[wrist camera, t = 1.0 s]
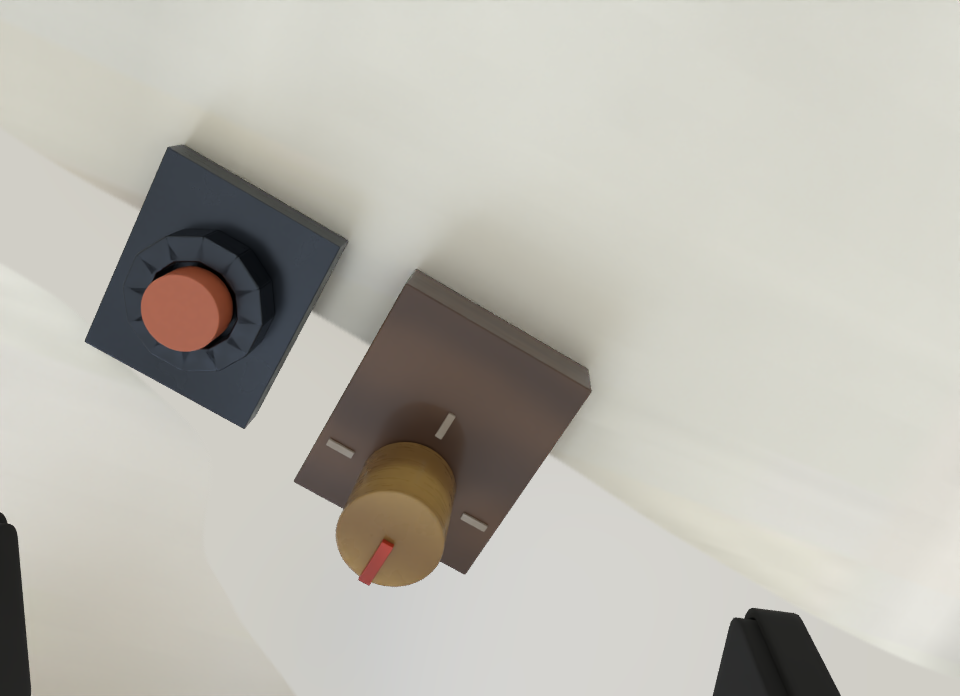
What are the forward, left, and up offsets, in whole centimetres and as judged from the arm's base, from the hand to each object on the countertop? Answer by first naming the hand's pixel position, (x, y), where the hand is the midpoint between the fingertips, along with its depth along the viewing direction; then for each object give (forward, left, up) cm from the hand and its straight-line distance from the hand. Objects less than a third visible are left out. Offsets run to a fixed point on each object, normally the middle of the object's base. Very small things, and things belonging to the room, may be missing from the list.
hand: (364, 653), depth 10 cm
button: (+9, -10, -26) cm, 30 cm away
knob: (+12, +2, -26) cm, 29 cm away
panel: (+9, +2, -29) cm, 31 cm away
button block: (+9, -11, -29) cm, 32 cm away
